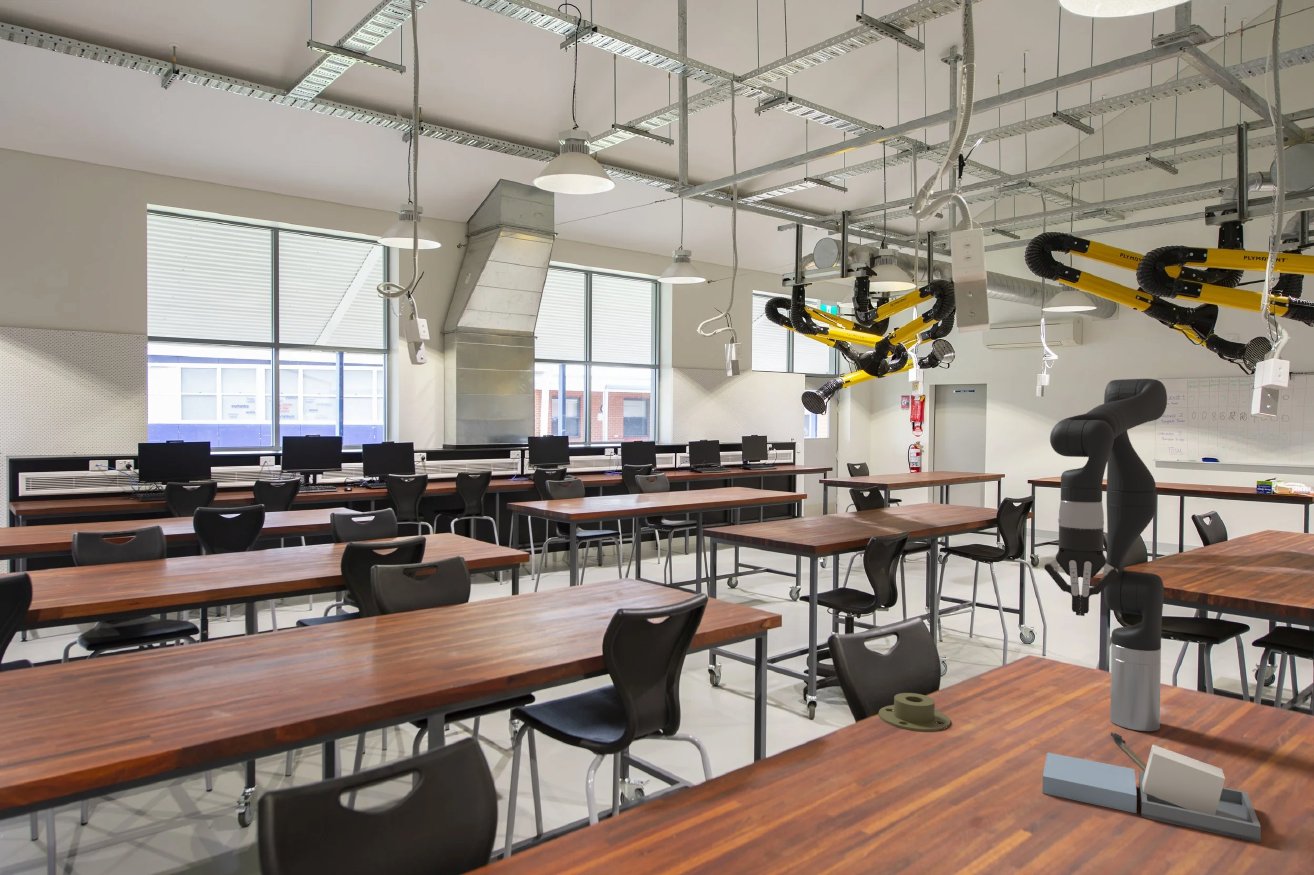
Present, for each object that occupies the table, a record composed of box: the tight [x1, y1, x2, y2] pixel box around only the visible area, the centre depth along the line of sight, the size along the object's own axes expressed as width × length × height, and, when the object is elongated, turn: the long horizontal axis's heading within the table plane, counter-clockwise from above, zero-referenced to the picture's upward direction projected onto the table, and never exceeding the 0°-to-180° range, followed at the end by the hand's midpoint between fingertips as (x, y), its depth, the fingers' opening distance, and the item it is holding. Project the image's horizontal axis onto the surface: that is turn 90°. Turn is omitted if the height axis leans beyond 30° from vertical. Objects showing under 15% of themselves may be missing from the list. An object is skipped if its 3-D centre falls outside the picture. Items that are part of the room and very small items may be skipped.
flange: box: [878, 692, 951, 732], centre depth 172 cm, size 5×15×15 cm
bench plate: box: [1042, 751, 1138, 814], centre depth 138 cm, size 12×14×3 cm
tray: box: [1138, 770, 1262, 844], centre depth 130 cm, size 14×16×2 cm
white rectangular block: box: [1142, 744, 1226, 815], centre depth 131 cm, size 4×10×7 cm, turn 59°
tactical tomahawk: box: [1110, 732, 1147, 772], centre depth 152 cm, size 21×7×1 cm, turn 166°
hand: (1080, 614), depth 149 cm, fingers closed
